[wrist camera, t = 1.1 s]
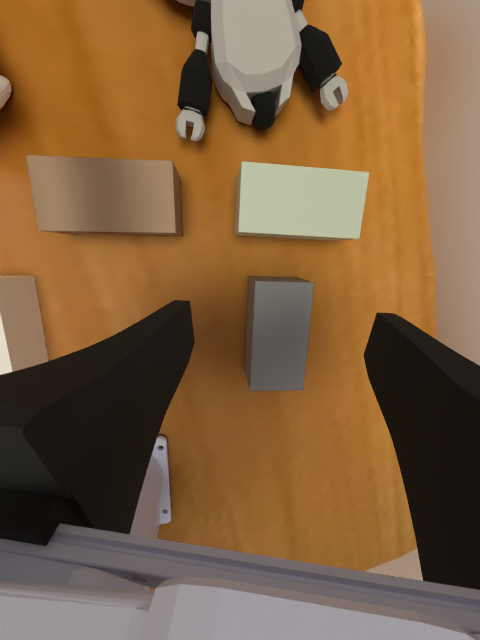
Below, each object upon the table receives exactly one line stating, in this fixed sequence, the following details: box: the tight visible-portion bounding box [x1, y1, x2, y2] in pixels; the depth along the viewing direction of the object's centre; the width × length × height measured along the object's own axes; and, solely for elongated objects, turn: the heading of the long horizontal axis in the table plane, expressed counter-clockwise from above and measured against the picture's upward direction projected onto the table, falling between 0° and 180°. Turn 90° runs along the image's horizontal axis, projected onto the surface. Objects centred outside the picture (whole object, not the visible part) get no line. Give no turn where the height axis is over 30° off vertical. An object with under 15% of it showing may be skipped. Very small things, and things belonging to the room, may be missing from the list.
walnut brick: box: [26, 155, 183, 236], centre depth 18 cm, size 8×4×4 cm, turn 89°
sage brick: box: [234, 162, 369, 241], centre depth 19 cm, size 8×4×4 cm, turn 87°
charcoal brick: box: [245, 276, 314, 391], centre depth 21 cm, size 8×4×4 cm, turn 178°
